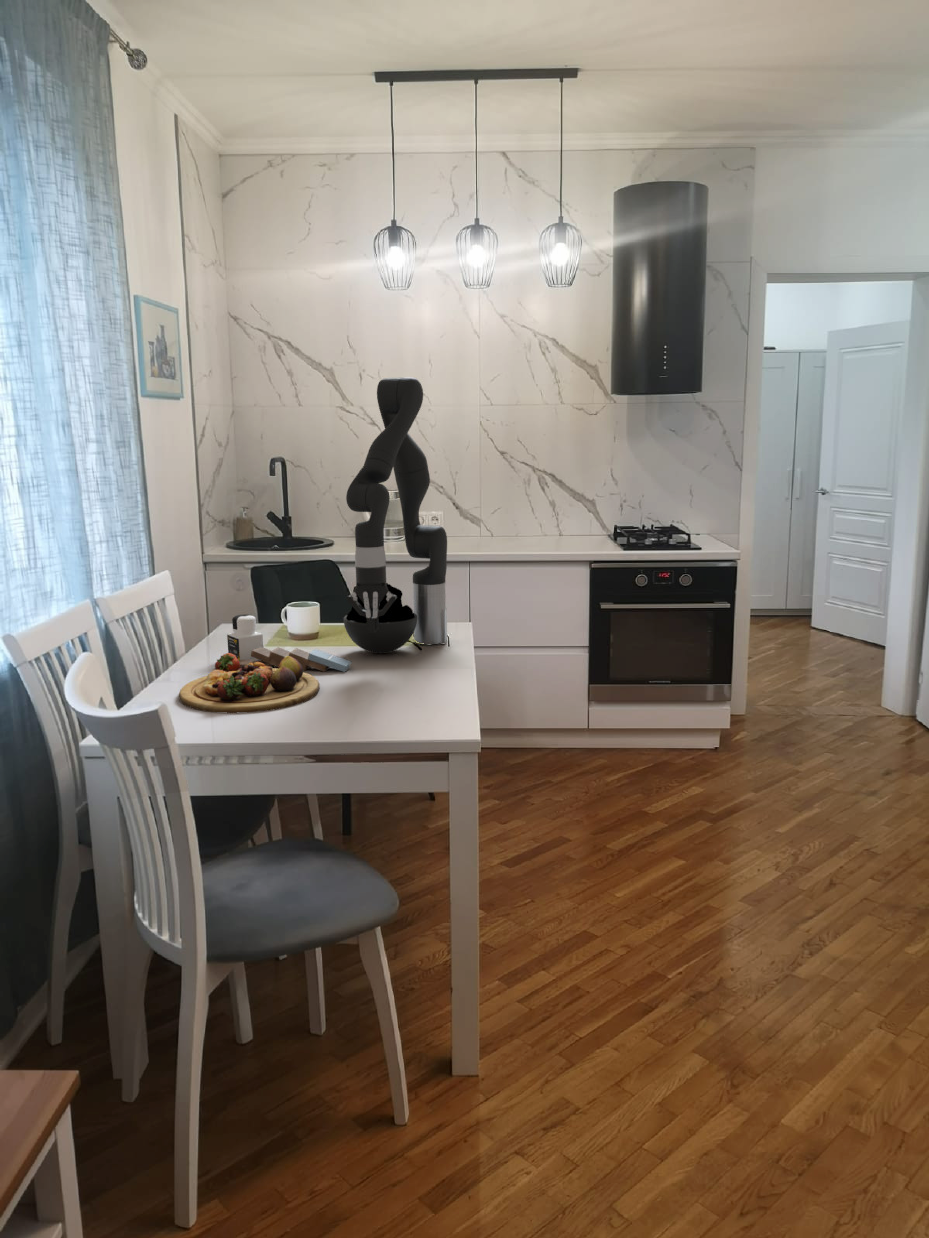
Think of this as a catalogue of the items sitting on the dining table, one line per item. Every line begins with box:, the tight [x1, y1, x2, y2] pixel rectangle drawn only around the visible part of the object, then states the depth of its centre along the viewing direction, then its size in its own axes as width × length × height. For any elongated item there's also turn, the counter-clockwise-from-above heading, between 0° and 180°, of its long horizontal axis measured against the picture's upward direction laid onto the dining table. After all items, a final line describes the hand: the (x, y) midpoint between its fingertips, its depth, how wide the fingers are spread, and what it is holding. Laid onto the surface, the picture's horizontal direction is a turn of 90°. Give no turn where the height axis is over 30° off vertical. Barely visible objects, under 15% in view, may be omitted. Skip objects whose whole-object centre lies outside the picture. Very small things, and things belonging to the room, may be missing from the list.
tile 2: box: [289, 647, 330, 673], centre depth 246 cm, size 2×5×10 cm
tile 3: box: [269, 647, 311, 672], centre depth 247 cm, size 2×5×10 cm
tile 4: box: [251, 646, 280, 668], centre depth 248 cm, size 2×5×10 cm
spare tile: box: [308, 648, 352, 673], centre depth 245 cm, size 2×5×10 cm
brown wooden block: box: [238, 660, 276, 668], centre depth 248 cm, size 2×5×10 cm
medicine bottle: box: [226, 614, 264, 660], centre depth 256 cm, size 7×7×12 cm
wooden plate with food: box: [178, 653, 321, 714], centre depth 223 cm, size 32×32×8 cm
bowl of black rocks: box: [342, 582, 417, 654], centre depth 261 cm, size 20×20×19 cm
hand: (373, 631), depth 243 cm, fingers closed
